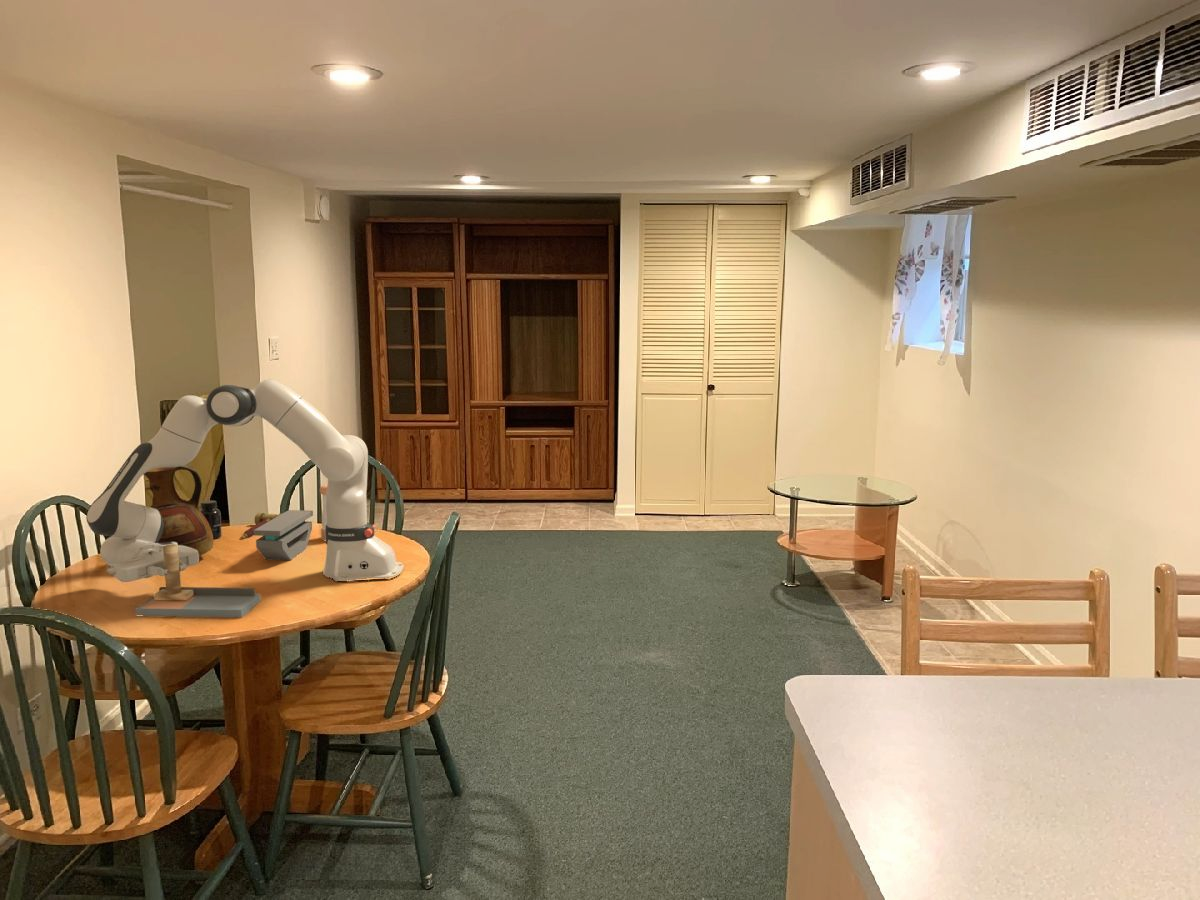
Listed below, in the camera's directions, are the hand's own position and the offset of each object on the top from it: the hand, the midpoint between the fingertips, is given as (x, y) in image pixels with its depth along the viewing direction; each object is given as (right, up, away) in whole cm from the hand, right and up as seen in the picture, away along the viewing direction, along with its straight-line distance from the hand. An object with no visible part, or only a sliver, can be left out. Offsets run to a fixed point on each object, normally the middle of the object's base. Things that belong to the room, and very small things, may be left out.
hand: (174, 569), depth 221 cm
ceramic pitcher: (-19, -3, +41) cm, 45 cm away
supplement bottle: (-20, +1, +66) cm, 69 cm away
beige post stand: (-1, -7, +2) cm, 8 cm away
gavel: (-7, +2, +74) cm, 75 cm away
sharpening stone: (+11, -2, +48) cm, 49 cm away
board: (+6, -10, +1) cm, 12 cm away
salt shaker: (+20, +1, +66) cm, 69 cm away
